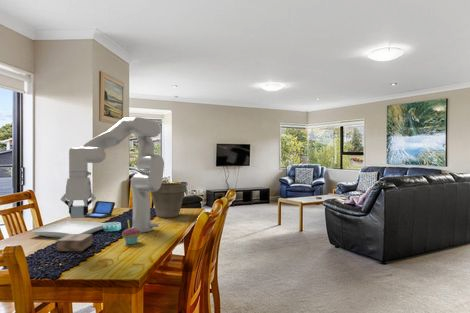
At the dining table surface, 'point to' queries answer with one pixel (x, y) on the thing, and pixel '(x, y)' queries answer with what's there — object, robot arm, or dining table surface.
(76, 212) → the slate block
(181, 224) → the dining table surface
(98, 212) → the handheld game console
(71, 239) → the walnut base
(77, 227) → the square plate
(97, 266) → the dining table surface
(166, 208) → the plant pot
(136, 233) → the cupcake
